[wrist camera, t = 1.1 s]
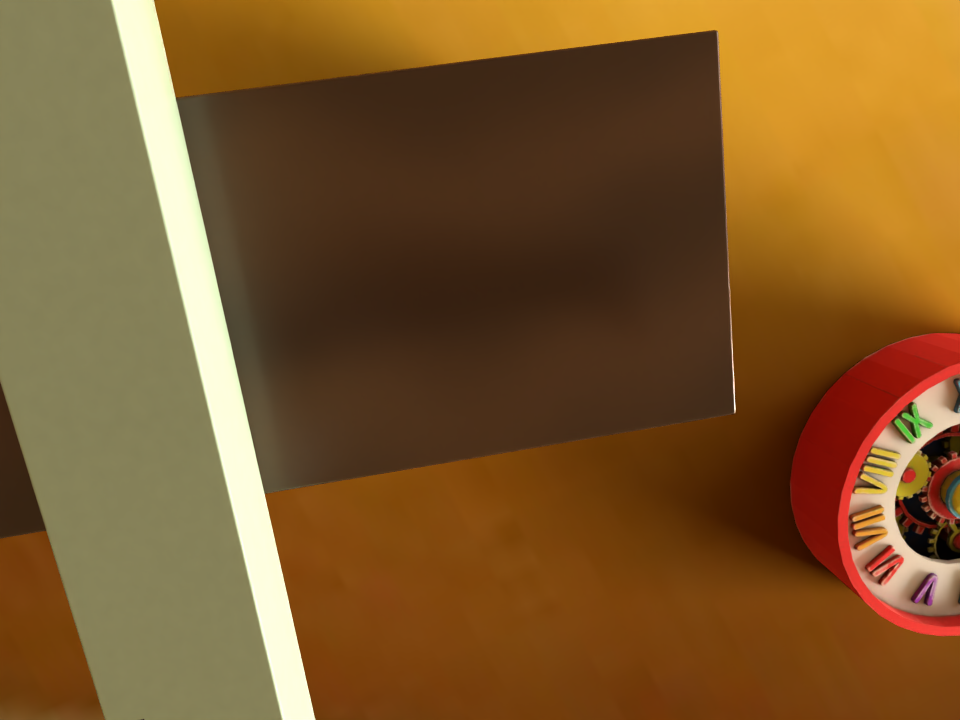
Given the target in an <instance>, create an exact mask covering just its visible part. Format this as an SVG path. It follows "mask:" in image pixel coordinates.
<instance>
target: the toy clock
mask: <svg viewBox="0 0 960 720" xmlns="http://www.w3.org/2000/svg"><path fill="white" fill-rule="evenodd" d="M790 492H791V506H792V510H793V514H794V518H795V523H796V525H797V528H798V530H799V532H800V534H801V536H802V539H803V541H804V543H805V544H806V545H807V547H808V548H809V549H810V551H811V552H812V554H813V555H814V556H815V558H816V559H817V560H818V561H820V562H821V563H822V564H823V565H824V566H825V567H826V568H827V569H829V570H830V571H831V572H832V573H833V574H834V575H835V576H836V577H837V578H839V579H840V580H841V581H842V582H843V583H844V584H845V585H846V586H848V587H849V588H850V589H851V590H852V591H853V592H854V593H855V594H857V595H858V596H859V597H860V598H861V599H862V600H863V601H864V602H866V603H867V604H868V605H869V606H870V607H871V608H872V609H873V610H874V611H876V612H877V613H878V614H879V615H880V616H881V617H883V618H885V619H887V620H889V621H890V622H892V623H894V624H896V625H898V626H899V627H902V628H905V629H909V630H912V631H915V632H918V633H922V634H930V635H938V636H955V635H960V334H957V333H932V334H926V335H920V336H915V337H910V338H907V339H904V340H901V341H898V342H896V343H893V344H890V345H887V346H885V347H883V348H882V349H880V350H878V351H876V352H874V353H872V354H871V355H869V356H867V357H865V358H864V359H862V360H861V361H860V362H858V363H857V364H856V365H855V366H853V367H852V368H851V369H849V370H848V371H847V372H846V373H844V374H843V375H842V376H841V377H840V378H839V379H838V380H837V381H836V383H835V384H834V385H833V386H832V387H831V388H830V389H829V390H828V391H827V392H826V393H825V395H824V396H823V397H822V399H821V400H820V402H819V403H818V405H817V406H816V407H815V409H814V410H813V412H812V413H811V415H810V417H809V419H808V421H807V423H806V425H805V427H804V429H803V431H802V433H801V435H800V438H799V441H798V445H797V448H796V451H795V454H794V457H793V463H792V471H791V478H790Z"/></svg>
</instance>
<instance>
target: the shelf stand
mask: <svg viewBox="0 0 960 720" xmlns="http://www.w3.org/2000/svg"><path fill="white" fill-rule="evenodd" d="M176 102H177V106H178V111H179V115H180V120H181V124H182V129H183V133H184V138H185V142H186V147H187V151H188V155H189V160H190V164H191V169H192V173H193V178H194V182H195V187H196V191H197V196H198V200H199V205H200V209H201V213H202V218H203V222H204V227H205V231H206V236H207V240H208V245H209V249H210V254H211V258H212V263H213V267H214V271H215V276H216V280H217V285H218V289H219V294H220V298H221V303H222V307H223V312H224V316H225V321H226V325H227V329H228V334H229V338H230V343H231V347H232V352H233V356H234V361H235V365H236V370H237V374H238V379H239V383H240V387H241V392H242V396H243V401H244V405H245V410H246V414H247V419H248V423H249V428H250V432H251V436H252V441H253V445H254V450H255V454H256V459H257V463H258V468H259V472H260V477H261V481H262V486H263V490H264V494H265V493H271V492H277V491H283V490H289V489H295V488H301V487H306V486H312V485H318V484H324V483H330V482H336V481H342V480H348V479H354V478H360V477H365V476H371V475H377V474H383V473H389V472H395V471H401V470H407V469H413V468H419V467H424V466H430V465H436V464H442V463H448V462H454V461H460V460H466V459H472V458H478V457H483V456H489V455H495V454H501V453H507V452H513V451H519V450H525V449H531V448H537V447H542V446H548V445H554V444H560V443H566V442H572V441H578V440H584V439H590V438H596V437H601V436H607V435H613V434H619V433H625V432H631V431H637V430H643V429H649V428H655V427H661V426H666V425H672V424H678V423H684V422H690V421H696V420H702V419H708V418H714V417H720V416H725V415H731V414H735V412H736V411H735V389H734V367H733V345H732V324H731V302H730V280H729V258H728V237H727V215H726V193H725V171H724V149H723V128H722V106H721V84H720V62H719V41H718V31H715V30H712V31H704V32H696V33H688V34H680V35H672V36H664V37H656V38H648V39H640V40H632V41H624V42H616V43H608V44H600V45H592V46H584V47H576V48H568V49H560V50H552V51H544V52H536V53H528V54H520V55H512V56H504V57H496V58H488V59H480V60H472V61H464V62H457V63H449V64H441V65H433V66H425V67H417V68H409V69H401V70H393V71H385V72H377V73H369V74H361V75H353V76H345V77H337V78H329V79H321V80H313V81H305V82H297V83H289V84H281V85H273V86H265V87H257V88H249V89H241V90H233V91H225V92H217V93H209V94H201V95H193V96H185V97H177V98H176ZM41 531H46V528H45V524H44V521H43V518H42V515H41V511H40V508H39V505H38V502H37V499H36V495H35V492H34V489H33V486H32V482H31V479H30V476H29V473H28V470H27V466H26V463H25V460H24V457H23V453H22V450H21V447H20V444H19V440H18V437H17V434H16V431H15V428H14V424H13V421H12V418H11V415H10V411H9V408H8V405H7V402H6V399H5V395H4V392H3V389H2V386H1V382H0V538H6V537H11V536H17V535H23V534H29V533H35V532H41Z"/></svg>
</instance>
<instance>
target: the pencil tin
mask: <svg viewBox="0 0 960 720" xmlns="http://www.w3.org/2000/svg"><path fill="white" fill-rule="evenodd" d="M0 382H1V386H2V389H3V392H4V395H5V399H6V402H7V405H8V408H9V411H10V415H11V418H12V421H13V424H14V428H15V431H16V434H17V437H18V440H19V444H20V447H21V450H22V453H23V457H24V460H25V463H26V466H27V470H28V473H29V476H30V479H31V482H32V486H33V489H34V492H35V495H36V499H37V502H38V505H39V508H40V511H41V515H42V518H43V521H44V524H45V528H46V531H47V534H48V537H49V540H50V544H51V547H52V550H53V553H54V557H55V560H56V563H57V566H58V569H59V573H60V576H61V579H62V582H63V586H64V589H65V592H66V595H67V598H68V602H69V605H70V608H71V611H72V615H73V618H74V621H75V624H76V627H77V631H78V634H79V637H80V640H81V644H82V647H83V650H84V653H85V656H86V660H87V663H88V666H89V669H90V673H91V676H92V679H93V682H94V685H95V689H96V692H97V695H98V698H99V702H100V705H101V708H102V711H103V714H104V718H105V720H141V719H144V720H315V718H314V713H313V709H312V704H311V700H310V695H309V691H308V686H307V682H306V677H305V673H304V668H303V664H302V660H301V655H300V651H299V646H298V642H297V637H296V633H295V628H294V624H293V619H292V615H291V610H290V606H289V602H288V597H287V593H286V588H285V584H284V579H283V575H282V570H281V566H280V561H279V557H278V552H277V548H276V544H275V539H274V535H273V530H272V526H271V521H270V517H269V512H268V508H267V503H266V499H265V494H264V490H263V486H262V481H261V477H260V472H259V468H258V463H257V459H256V454H255V450H254V445H253V441H252V436H251V432H250V428H249V423H248V419H247V414H246V410H245V405H244V401H243V396H242V392H241V387H240V383H239V379H238V374H237V370H236V365H235V361H234V356H233V352H232V347H231V343H230V338H229V334H228V329H227V325H226V321H225V316H224V312H223V307H222V303H221V298H220V294H219V289H218V285H217V280H216V276H215V271H214V267H213V263H212V258H211V254H210V249H209V245H208V240H207V236H206V231H205V227H204V222H203V218H202V213H201V209H200V205H199V200H198V196H197V191H196V187H195V182H194V178H193V173H192V169H191V164H190V160H189V155H188V151H187V147H186V142H185V138H184V133H183V129H182V124H181V120H180V115H179V111H178V106H177V102H176V97H175V93H174V89H173V84H172V80H171V75H170V71H169V66H168V62H167V57H166V53H165V48H164V44H163V40H162V35H161V31H160V26H159V22H158V17H157V13H156V8H155V4H154V0H0Z"/></svg>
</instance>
